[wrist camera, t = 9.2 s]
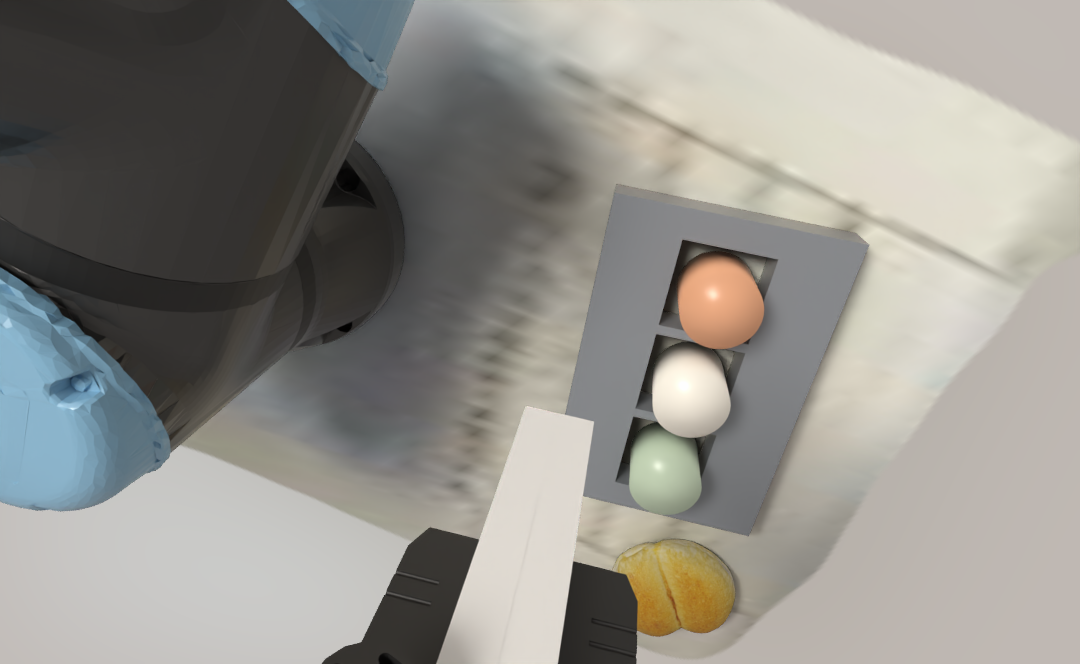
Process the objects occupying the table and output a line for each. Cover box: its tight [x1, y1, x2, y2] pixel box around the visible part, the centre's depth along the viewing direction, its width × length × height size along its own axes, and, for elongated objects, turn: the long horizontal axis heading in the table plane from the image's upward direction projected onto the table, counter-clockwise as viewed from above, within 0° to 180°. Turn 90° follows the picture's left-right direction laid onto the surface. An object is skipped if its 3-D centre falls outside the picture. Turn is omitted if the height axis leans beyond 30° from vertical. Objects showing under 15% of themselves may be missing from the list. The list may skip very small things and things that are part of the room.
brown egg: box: [677, 251, 764, 349], centre depth 36 cm, size 4×4×4 cm
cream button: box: [652, 342, 731, 438], centre depth 38 cm, size 4×4×4 cm
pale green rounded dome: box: [629, 422, 702, 515], centre depth 41 cm, size 4×4×4 cm
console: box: [565, 184, 869, 536], centre depth 40 cm, size 14×21×2 cm, turn 170°
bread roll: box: [612, 539, 735, 637], centre depth 47 cm, size 8×9×4 cm
